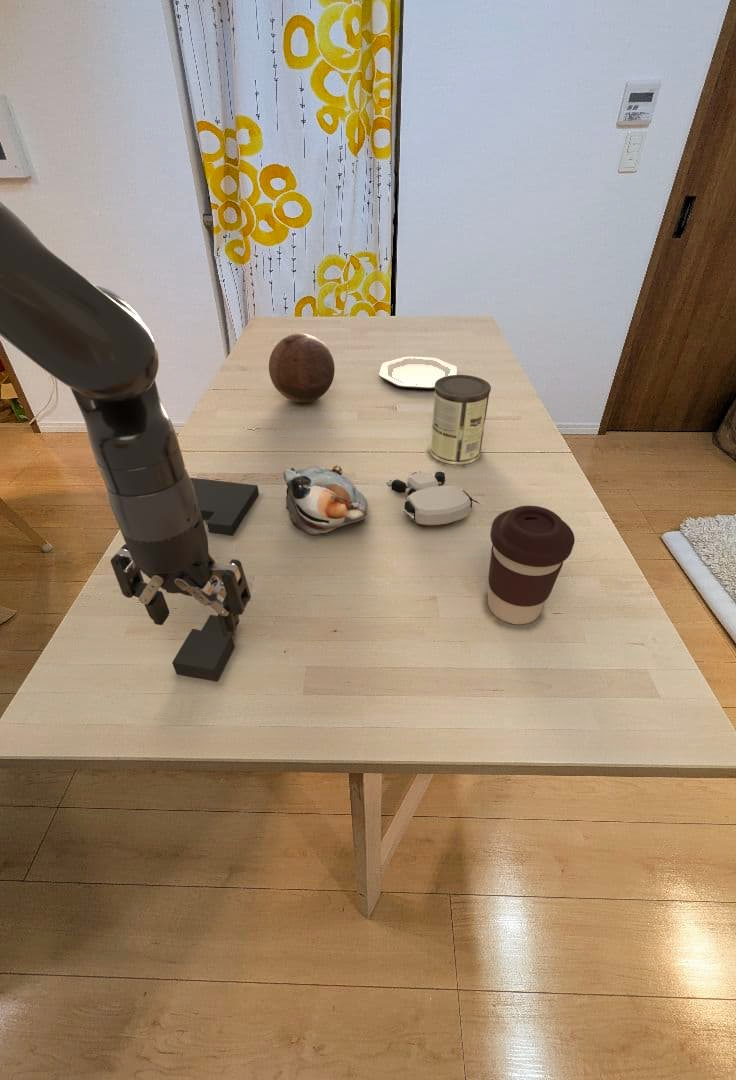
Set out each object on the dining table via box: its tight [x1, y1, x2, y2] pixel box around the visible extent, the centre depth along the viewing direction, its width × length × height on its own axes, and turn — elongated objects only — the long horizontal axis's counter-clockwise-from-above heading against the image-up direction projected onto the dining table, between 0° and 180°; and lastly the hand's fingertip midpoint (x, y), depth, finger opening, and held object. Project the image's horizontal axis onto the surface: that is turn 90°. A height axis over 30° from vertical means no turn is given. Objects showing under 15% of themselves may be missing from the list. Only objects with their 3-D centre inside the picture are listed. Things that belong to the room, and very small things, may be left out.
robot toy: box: [385, 470, 483, 526], centre depth 89 cm, size 12×4×15 cm
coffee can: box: [429, 374, 492, 466], centre depth 100 cm, size 10×10×14 cm
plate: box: [378, 356, 458, 390], centre depth 134 cm, size 20×20×2 cm
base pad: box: [190, 477, 260, 536], centre depth 89 cm, size 13×12×2 cm
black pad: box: [171, 614, 236, 682], centre depth 65 cm, size 5×8×2 cm, turn 169°
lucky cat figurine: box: [282, 465, 368, 536], centre depth 83 cm, size 15×12×14 cm
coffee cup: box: [487, 505, 576, 625], centre depth 67 cm, size 10×10×15 cm
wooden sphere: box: [268, 333, 336, 403], centre depth 119 cm, size 15×15×15 cm
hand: (196, 624), depth 61 cm, fingers open, 8 cm apart
